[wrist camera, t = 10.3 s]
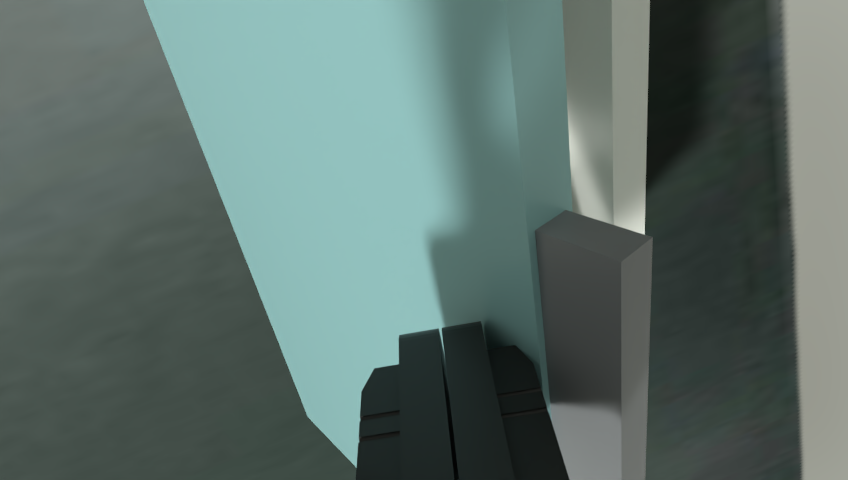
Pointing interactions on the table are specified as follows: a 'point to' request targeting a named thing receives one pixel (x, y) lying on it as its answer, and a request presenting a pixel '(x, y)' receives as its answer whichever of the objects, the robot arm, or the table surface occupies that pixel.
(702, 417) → the table surface
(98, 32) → the table surface
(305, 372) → the case lid
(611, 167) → the case
